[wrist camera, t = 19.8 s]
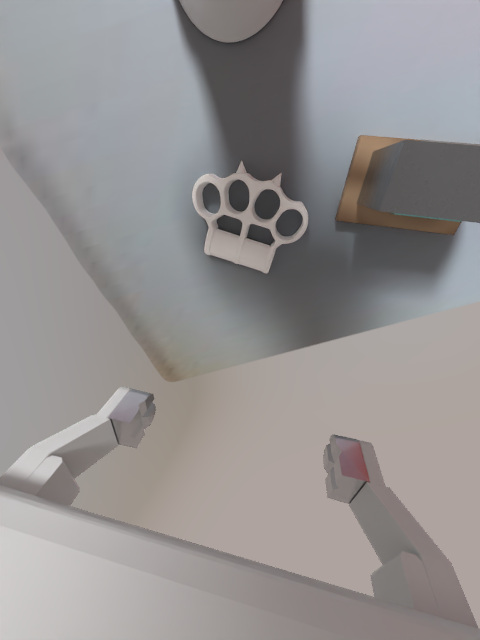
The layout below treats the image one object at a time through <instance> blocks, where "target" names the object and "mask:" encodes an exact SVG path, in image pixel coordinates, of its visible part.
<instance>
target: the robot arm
mask: <svg viewBox="0 0 480 640" xmlns="http://www.w3.org/2000/svg"><path fill="white" fill-rule="evenodd" d="M282 1H283V0H180V3H181V5H182V7H183V9H184V10H185V12H186V14H187V15H188V17H189V18H190V20H191V21H192V22H193V24H194V25H195V26H196V27H197V28H198V29H199V30H200V31H201V32H202V33H204V34H205V35H207V36H208V37H210V38H212V39H214V40H217V41H221V42H238V41H241V40H244V39H247V38H249V37H251V36H252V35H254V34H255V33H257V32H258V31H259V30H261V29H262V28H263V27H264V26H265V25H266V24H267V23H268V22H269V21H270V19H271V18H272V17H273V16H274V14H275V13H276V11H277V10H278V8H279V7H280V5H281V3H282ZM153 400H154V395H153V394H151V393H147V392H143V391H139V390H135V389H131V388H127V387H121V388H119V389H118V390H117V391H116V392H115V393H114V394H113V396H112V397H111V398H110V399H109V400H108V402H107V403H106V404H105V405H104V406H103V407H102V409H101V410H100V411H99V412H98V414H96V415H92V416H89V417H88V418H85V419H84V420H82V421H80V422H78V423H76V424H74V425H72V426H70V427H68V428H66V429H65V430H62V431H61V432H59V433H57V434H55V435H53V436H51V437H49V438H47V439H45V440H43V441H41V442H40V443H38V444H36V445H34V446H32V447H30V448H29V449H28V450H27V451H26V452H25V453H24V454H23V455H22V456H21V457H20V458H19V459H18V460H17V461H16V462H15V463H14V464H13V465H12V466H11V467H10V468H9V469H8V470H7V471H6V472H5V473H4V474H3V475H2V476H1V477H0V640H480V629H479V628H478V626H477V624H476V621H475V619H474V617H473V614H472V612H471V609H470V607H469V604H468V602H467V600H466V597H465V595H464V592H463V590H462V588H461V585H460V583H459V580H458V578H457V576H456V573H455V571H454V568H453V566H452V564H451V562H450V561H449V560H448V559H447V558H446V556H445V555H444V554H443V553H442V551H441V550H440V549H439V548H438V547H437V545H436V544H435V543H434V542H433V540H432V539H431V538H430V537H429V535H428V534H427V533H426V532H425V530H424V529H423V528H422V527H421V526H420V524H419V523H418V522H417V521H416V520H415V518H414V517H413V516H412V515H411V513H410V512H409V511H408V510H407V508H406V507H405V506H404V505H403V504H402V502H401V501H400V500H399V499H398V497H397V496H396V495H395V494H394V493H393V491H392V490H391V489H390V488H388V487H386V486H385V483H384V480H383V477H382V474H381V470H380V467H379V464H378V461H377V457H376V454H375V451H374V448H373V446H372V444H371V443H369V442H364V441H359V440H356V439H352V438H347V437H343V436H338V435H332V436H331V438H330V444H328V445H326V448H325V450H324V469H325V470H326V472H327V473H328V476H327V478H326V488H327V497H328V498H331V499H334V500H337V501H341V502H344V503H348V504H349V506H350V508H351V509H352V511H353V513H354V515H355V517H356V518H357V520H358V522H359V524H360V525H361V527H362V529H363V531H364V533H365V534H366V536H367V538H368V540H369V541H370V543H371V545H372V547H373V548H374V550H375V552H376V554H377V555H378V557H379V559H380V561H381V563H382V564H383V566H381V567H380V568H379V569H377V570H376V571H374V572H373V573H372V575H371V581H372V586H373V592H374V597H372V596H369V595H366V594H362V593H359V592H356V591H352V590H349V589H346V588H342V587H339V586H335V585H332V584H329V583H325V582H322V581H319V580H315V579H312V578H309V577H305V576H302V575H299V574H295V573H292V572H288V571H285V570H282V569H279V568H275V567H272V566H268V565H265V564H262V563H259V562H255V561H252V560H249V559H245V558H242V557H239V556H235V555H232V554H229V553H225V552H222V551H219V550H215V549H212V548H209V547H205V546H202V545H199V544H195V543H192V542H189V541H185V540H182V539H179V538H175V537H172V536H168V535H165V534H162V533H158V532H155V531H152V530H149V529H145V528H142V527H139V526H135V525H132V524H128V523H125V522H122V521H118V520H115V519H112V518H108V517H105V516H102V515H98V514H95V513H91V512H88V511H85V510H82V509H78V508H75V507H72V506H70V505H71V504H72V502H73V500H74V499H75V498H76V496H77V495H78V493H79V486H78V485H77V483H76V481H75V478H76V477H77V476H79V475H80V474H81V473H82V472H84V471H85V470H86V469H88V468H89V467H90V466H92V465H93V464H94V463H96V462H97V461H98V460H100V459H101V458H102V457H104V456H105V455H106V454H108V453H109V452H110V451H111V450H113V449H114V448H115V447H117V446H118V444H120V445H124V446H129V447H133V448H137V446H138V445H139V443H140V441H141V439H142V438H143V436H144V429H145V428H147V427H148V426H150V424H151V422H152V420H153V418H154V415H155V411H156V407H155V404H154V403H153Z"/></svg>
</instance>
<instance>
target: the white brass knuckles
mask: <svg viewBox="0 0 480 640" xmlns="http://www.w3.org/2000/svg"><path fill="white" fill-rule="evenodd" d="M281 174H282V172H281V173H280V174H279V175H278V176H276V177H275V178H274V179H272V180H267V181H259V180H257V179H255V178H253V177H252V176H251V175H250V174H249V173H247V172H246V170H245V167H244V165H243V162H242V160H241V163H240V165H239V167H238V170H237V172H236V173H233V174H231V175H230V176H228V177H226V178H220V177H217V176H216V175H214V174H206V175H203V176H202V177H200V178H199V179H198V180H197V182H196V183H195V185H194V188H193V192H192V200H193V204H194V207H195V209H196V211H197V212H198V214H199V215H200V216H201V217H203V218H204V219H205V220H206V222H207V224H208V227H209V229H208V232H207V236H206V240H205V247H204V252H205V253H206V254H207V255H213V256H216V257H219V258H222V259H225V260H228V261H231V262H234V263H235V264H241V265H244V266H247V267H250V268H253V269H256V270H259V271H262V272H263V273H268V272H269V269H270V266H271V263H272V260H273V257H274V255H275V251H276V248H277V247H278V246H280V245H281V244H288V243H292V242H295V241H296V240H298V239H299V238H300V237H301V236H302V235H303V234H304V232H305V231H306V229H307V226H308V213H307V210H306V208H305V206H304V204H303V203H302V202H301V201H293V200H291V199H289V198H288V197H287V196H286V195H285V194H284V192H283V190H282V188H281V187H280V183H281ZM236 180H242V181H243V182H245V183H246V185H247V186H248V189H249V205H248V207H247V209H246V210H245V211H241V212H240V211H236V210H235V209H233V208H232V206H231V205H230V202H229V188H230V186H231V184H232V183H233V182H234V181H236ZM209 183H212V184H214V185H215V186H216V187H217V188H218V190H219V192H220V199H221V206H220V209H219V211H218V212H217V213H216V214H213V213H210V212H209V211H207V210H206V208H205V206H204V204H203V196H202V194H203V189H204V187H205V186H206V185H207V184H209ZM265 189H271V190H274V191H275V192H276V193H277V194H278V195H279V198H280V207H279V209H278V211H277V213H276V214H275V215H274V216H273V217H272V218H270V219H261V218H260V217H258V216H257V214H256V212H255V207H254V206H255V202H256V200H257V198H258V196H259V194H260V193H261V192H262V191H263V190H265ZM288 209H295V210H297V211H299V212H300V213H301V215H302V217H303V221H302V224H301V226H300V228H299V229H298V230H297V232H296V233H295V234H293V235H292V236H282V235H281V234H279V233H278V231H277V229H276V221H277V220H278V218H279V217H280V215H281V214H282V213H283V212H284V211H286V210H288ZM223 215H227V216H230V217H233V218H236V219H239V220H241V222H242V230H241V234H240V236H239V235H235V234H232V233H229V232H226V231H223V230H220V229H218V224H217V219H218V218H219V217H221V216H223ZM250 224H255V225H258V226H261V227H265V228H268V229H270V231H271V234H272V236H273V238H274V239H275V241H274V242H273V243H272V244H271V246H270V245H267V244H264V243H261V242H257V241H254V240H251V239H248V238H247V235H248V231H249V227H250Z"/></svg>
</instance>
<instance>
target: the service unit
mask: <svg viewBox="0 0 480 640" xmlns="http://www.w3.org/2000/svg"><path fill="white" fill-rule="evenodd" d="M357 204H360V205H363V206H365V207H368V208H371V209H374V210H377V211H382V212H388V213H391V214H395V215H404V216H413V217H421V218H430V219H439V220H447V221H456V222H461V221H468V222H477V223H480V144H467V143H455V142H442V141H430V140H420V141H415V140H403V141H400V142H397V143H395V144H392V145H389V146H386V147H384V148H381V149H378V150H375V151H373V153H372V156H371V160H370V163H369V166H368V169H367V172H366V175H365V179H364V182H363V185H362V188H361V191H360V194H359V197H358V201H357Z"/></svg>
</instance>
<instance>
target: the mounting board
mask: <svg viewBox="0 0 480 640" xmlns="http://www.w3.org/2000/svg"><path fill="white" fill-rule="evenodd" d="M403 140H414V139H402V138H389V137H377V136H364V135H361V136H359V137H358V140H357V143H356V147H355V150H354V154H353V158H352V161H351V165H350V168H349V172H348V175H347V179H346V182H345V186H344V189H343V193H342V196H341V200H340V204H339V207H338V211H337V214H336V218H335V220H337V221H344V222H352V223H360V224H369V225H377V226H385V227H393V228H401V229H409V230H418V231H426V232H434V233H442V234H450V235H454V234H455V232H456V230H457V228H458V227H459V225H460V223H461V222H456V221H447V220H439V219H430V218H421V217H413V216H404V215H395V214H391V213H388V212H382V211H377V210H374V209H371V208H368V207H365V206H363V205H360V204H357V201H358V197H359V194H360V191H361V188H362V185H363V182H364V179H365V175H366V172H367V169H368V166H369V163H370V160H371V156H372V153H373V151H375V150H378V149H381V148H384V147H386V146H389V145H392V144H395V143H397V142H400V141H403ZM415 141H420V140H415Z"/></svg>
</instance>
